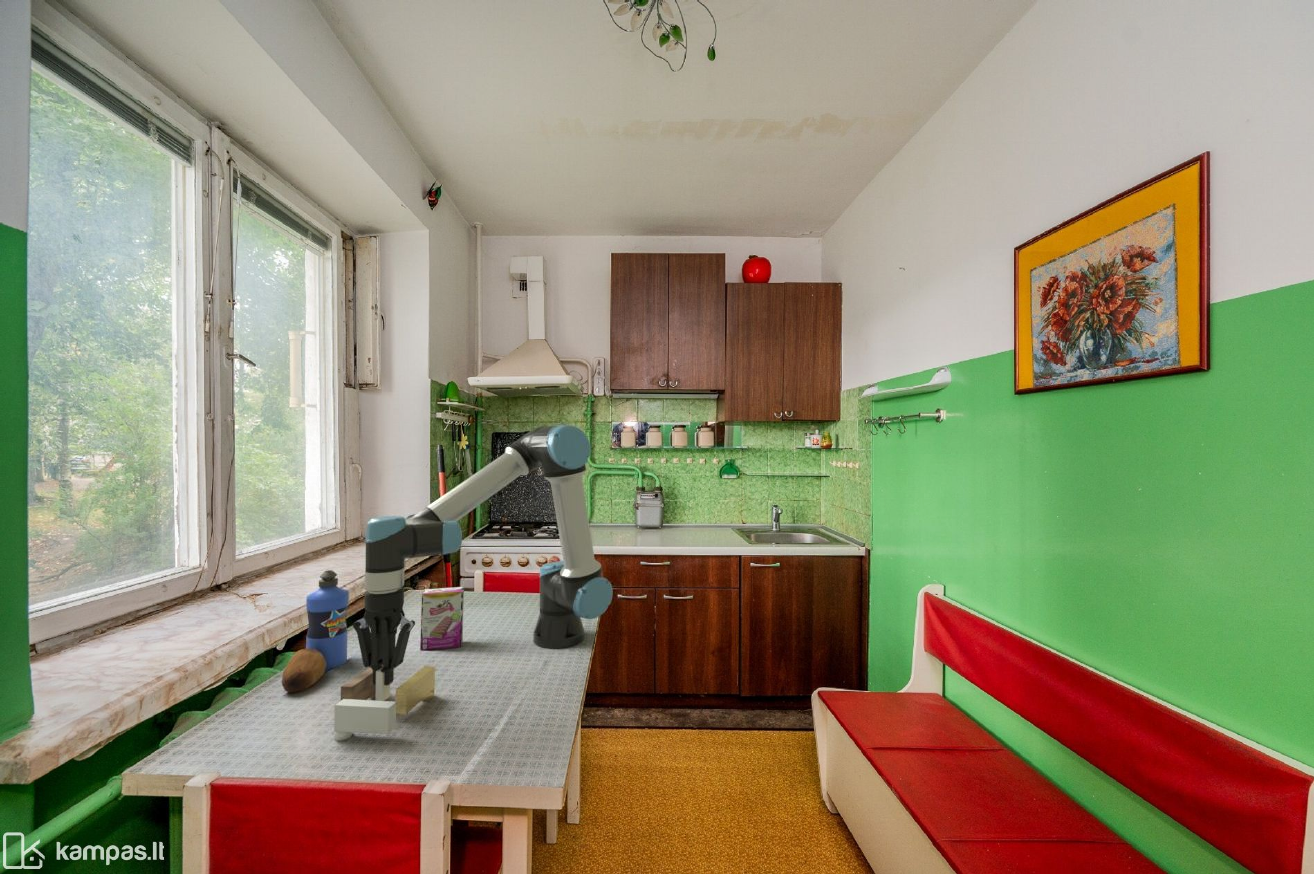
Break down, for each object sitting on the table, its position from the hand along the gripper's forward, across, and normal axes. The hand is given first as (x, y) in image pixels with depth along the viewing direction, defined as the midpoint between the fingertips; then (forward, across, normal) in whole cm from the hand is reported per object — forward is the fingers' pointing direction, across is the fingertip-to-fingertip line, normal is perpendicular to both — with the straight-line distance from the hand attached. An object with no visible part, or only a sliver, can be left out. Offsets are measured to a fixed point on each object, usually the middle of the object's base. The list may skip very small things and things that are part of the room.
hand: (382, 699), depth 108 cm
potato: (+4, +26, -10) cm, 28 cm away
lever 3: (+2, -7, -2) cm, 7 cm away
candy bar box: (+4, +6, -37) cm, 38 cm away
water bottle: (+4, +29, -21) cm, 36 cm away
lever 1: (+2, +5, -2) cm, 6 cm away
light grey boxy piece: (+2, -3, +10) cm, 11 cm away
